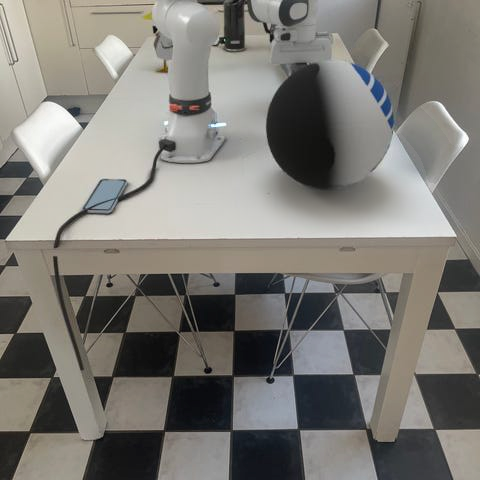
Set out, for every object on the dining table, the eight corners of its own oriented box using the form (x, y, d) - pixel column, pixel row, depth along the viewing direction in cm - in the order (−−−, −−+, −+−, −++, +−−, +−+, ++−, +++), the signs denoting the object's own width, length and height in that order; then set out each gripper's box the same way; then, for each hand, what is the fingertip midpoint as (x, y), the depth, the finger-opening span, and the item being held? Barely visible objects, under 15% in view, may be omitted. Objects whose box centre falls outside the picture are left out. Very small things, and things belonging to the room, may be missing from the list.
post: (308, 91, 169) (309, 66, 164) (296, 92, 169) (297, 67, 164) (280, 48, 211) (281, 27, 206) (270, 48, 211) (271, 28, 206)
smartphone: (80, 210, 121) (100, 178, 133) (81, 213, 122) (101, 181, 134) (110, 211, 121) (128, 179, 133) (111, 214, 121) (128, 182, 133)
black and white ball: (400, 209, 120) (424, 81, 103) (272, 216, 119) (274, 88, 101) (366, 153, 144) (380, 42, 127) (260, 158, 143) (260, 47, 126)
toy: (155, 65, 218) (148, 2, 203) (198, 69, 211) (194, 5, 197) (145, 70, 212) (137, 6, 198) (190, 75, 205) (185, 9, 191)
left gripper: (331, 29, 167) (327, 72, 175) (269, 31, 165) (267, 74, 173) (336, 33, 162) (332, 77, 170) (272, 36, 160) (271, 80, 168)
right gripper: (295, -6, 198) (293, 40, 208) (259, -5, 197) (259, 42, 207) (299, -2, 192) (297, 45, 202) (262, -1, 191) (261, 47, 201)
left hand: (299, 76), depth 171 cm, fingers closed on post, 4 cm apart
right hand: (278, 43), depth 205 cm, fingers closed on post, 4 cm apart
